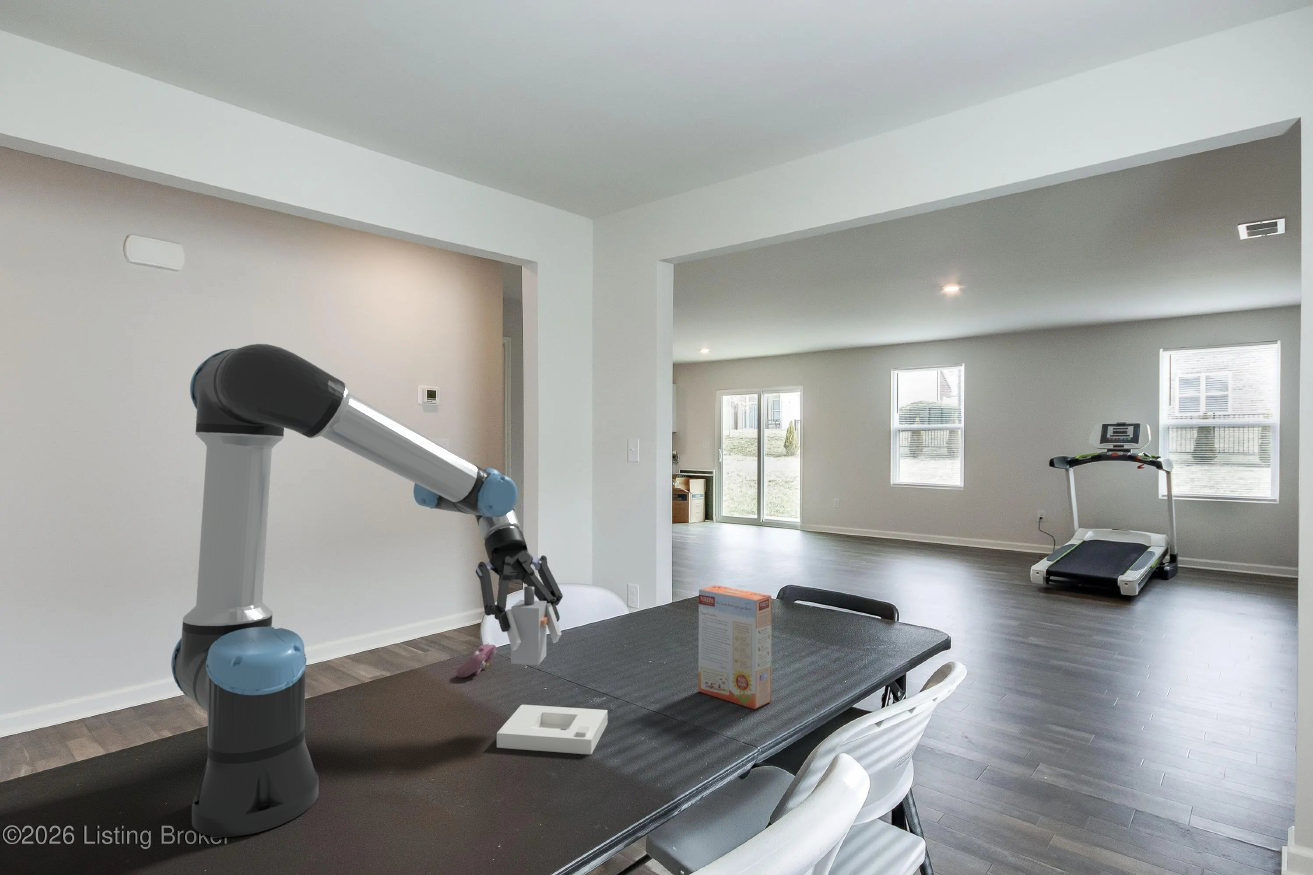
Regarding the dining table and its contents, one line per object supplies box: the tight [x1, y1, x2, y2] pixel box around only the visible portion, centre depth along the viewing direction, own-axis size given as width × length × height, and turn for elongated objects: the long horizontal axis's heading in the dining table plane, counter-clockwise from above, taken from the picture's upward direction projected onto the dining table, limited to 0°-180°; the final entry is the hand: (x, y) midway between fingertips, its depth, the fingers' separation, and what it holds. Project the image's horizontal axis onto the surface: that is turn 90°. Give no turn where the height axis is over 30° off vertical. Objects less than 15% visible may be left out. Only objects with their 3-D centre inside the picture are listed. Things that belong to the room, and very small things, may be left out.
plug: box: [510, 586, 548, 666], centre depth 122 cm, size 6×5×13 cm
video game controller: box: [456, 642, 499, 679], centre depth 149 cm, size 10×5×7 cm, turn 169°
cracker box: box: [697, 584, 772, 710], centre depth 135 cm, size 14×6×21 cm, turn 47°
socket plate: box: [496, 704, 609, 755], centre depth 117 cm, size 16×12×3 cm
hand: (537, 642), depth 120 cm, fingers closed on plug, 7 cm apart
